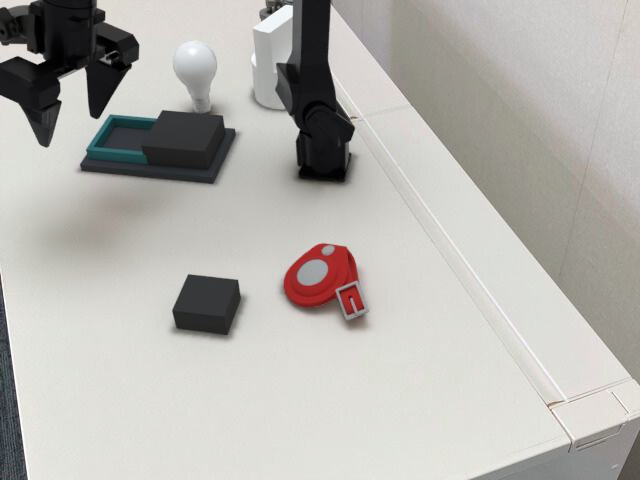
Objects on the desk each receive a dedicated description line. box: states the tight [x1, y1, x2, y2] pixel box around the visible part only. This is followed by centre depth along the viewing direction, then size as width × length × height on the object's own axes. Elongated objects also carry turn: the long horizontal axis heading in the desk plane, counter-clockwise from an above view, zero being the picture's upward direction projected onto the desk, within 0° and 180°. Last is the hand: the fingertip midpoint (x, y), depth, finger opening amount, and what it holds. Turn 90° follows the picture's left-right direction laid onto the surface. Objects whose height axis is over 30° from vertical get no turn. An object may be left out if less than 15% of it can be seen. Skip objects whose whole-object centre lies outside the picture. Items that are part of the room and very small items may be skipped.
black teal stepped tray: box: [79, 109, 237, 184], centre depth 109 cm, size 19×12×4 cm, turn 81°
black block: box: [171, 273, 242, 336], centre depth 88 cm, size 6×6×3 cm
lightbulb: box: [171, 39, 218, 114], centre depth 113 cm, size 6×6×11 cm
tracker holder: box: [283, 242, 370, 321], centre depth 90 cm, size 12×4×10 cm
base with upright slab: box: [250, 5, 293, 110], centre depth 116 cm, size 9×9×12 cm
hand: (70, 131), depth 91 cm, fingers open, 9 cm apart
